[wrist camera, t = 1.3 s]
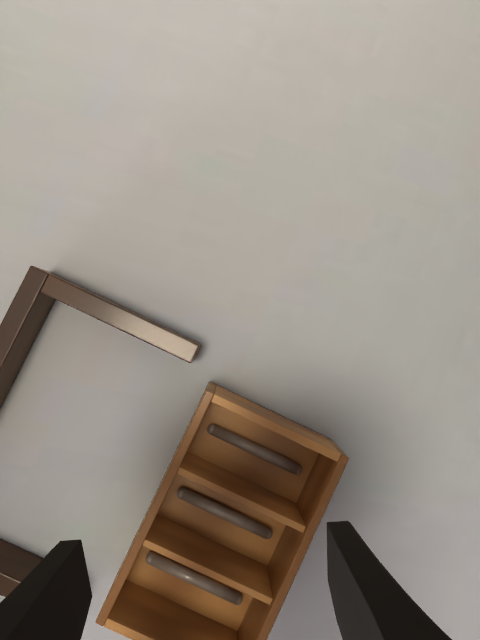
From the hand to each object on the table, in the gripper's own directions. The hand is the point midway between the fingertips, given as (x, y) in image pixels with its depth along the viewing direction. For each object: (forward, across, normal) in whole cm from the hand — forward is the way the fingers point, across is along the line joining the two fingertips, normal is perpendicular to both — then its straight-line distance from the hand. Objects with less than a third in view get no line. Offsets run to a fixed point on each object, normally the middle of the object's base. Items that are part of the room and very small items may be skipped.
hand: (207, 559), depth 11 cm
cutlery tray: (+13, 0, +9) cm, 15 cm away
